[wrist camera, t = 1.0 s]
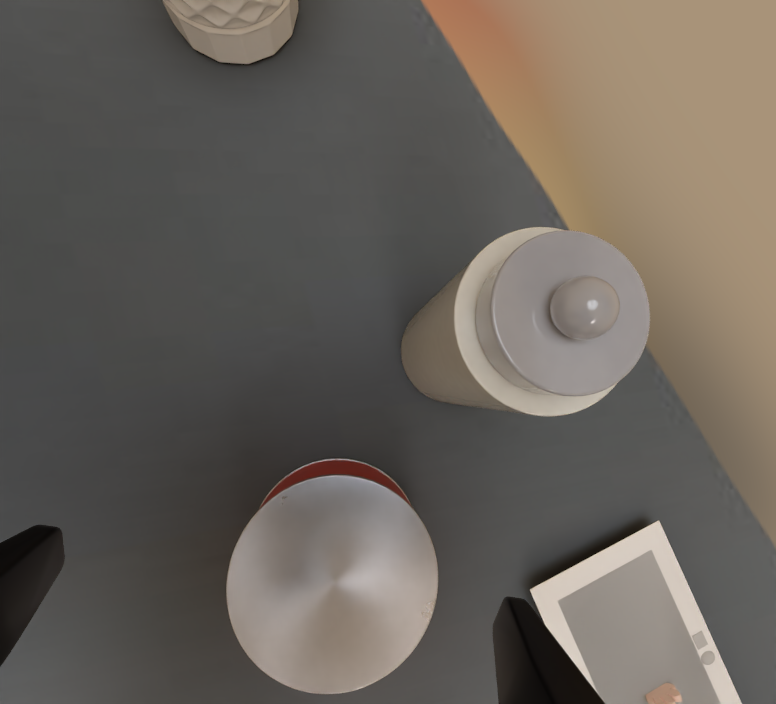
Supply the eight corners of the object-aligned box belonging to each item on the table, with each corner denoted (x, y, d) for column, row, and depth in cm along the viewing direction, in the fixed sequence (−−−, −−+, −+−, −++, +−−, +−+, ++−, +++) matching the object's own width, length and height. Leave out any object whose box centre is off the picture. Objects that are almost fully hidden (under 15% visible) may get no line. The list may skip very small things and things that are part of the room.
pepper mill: (509, 394, 24) (734, 404, 10) (409, 410, 23) (507, 443, 10) (493, 294, 24) (689, 174, 11) (393, 306, 24) (467, 196, 10)
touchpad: (639, 851, 23) (671, 900, 20) (520, 580, 23) (539, 599, 21) (760, 772, 24) (802, 810, 21) (644, 514, 24) (674, 526, 22)
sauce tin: (430, 611, 22) (453, 668, 18) (261, 647, 21) (240, 717, 17) (405, 445, 23) (421, 459, 18) (239, 472, 22) (213, 494, 17)
